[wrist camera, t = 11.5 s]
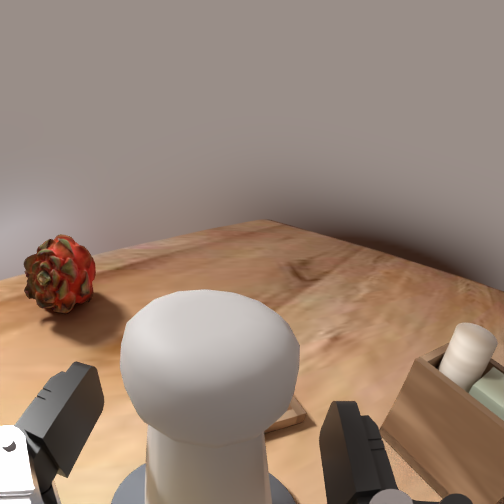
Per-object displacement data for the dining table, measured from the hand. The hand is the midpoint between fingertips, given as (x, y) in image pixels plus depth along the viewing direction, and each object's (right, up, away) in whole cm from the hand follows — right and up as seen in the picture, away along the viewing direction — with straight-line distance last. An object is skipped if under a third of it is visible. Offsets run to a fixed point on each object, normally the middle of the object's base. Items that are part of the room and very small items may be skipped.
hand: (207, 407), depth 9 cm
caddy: (+15, -10, +5) cm, 19 cm away
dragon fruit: (-20, -1, +21) cm, 29 cm away
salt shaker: (-1, -9, +2) cm, 9 cm away
